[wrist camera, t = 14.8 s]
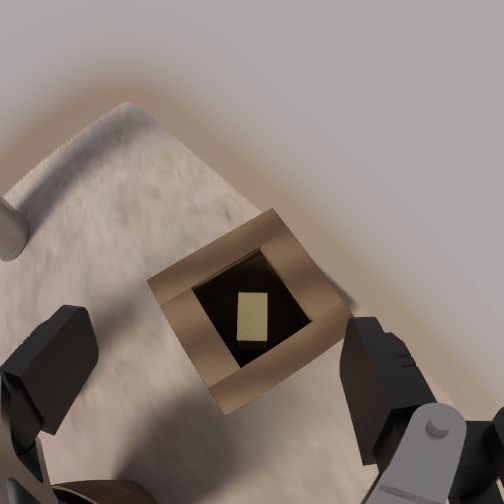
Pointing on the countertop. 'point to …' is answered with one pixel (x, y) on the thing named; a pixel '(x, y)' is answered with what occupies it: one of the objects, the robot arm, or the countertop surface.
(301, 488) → the countertop surface
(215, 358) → the wooden box
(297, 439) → the countertop surface
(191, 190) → the countertop surface
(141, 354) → the countertop surface
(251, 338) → the beige rectangular block
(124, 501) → the plant pot
